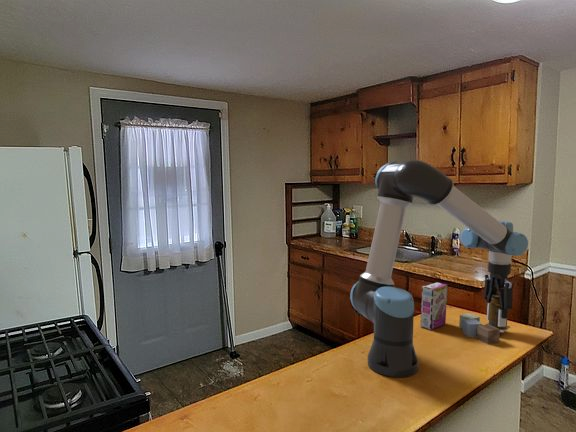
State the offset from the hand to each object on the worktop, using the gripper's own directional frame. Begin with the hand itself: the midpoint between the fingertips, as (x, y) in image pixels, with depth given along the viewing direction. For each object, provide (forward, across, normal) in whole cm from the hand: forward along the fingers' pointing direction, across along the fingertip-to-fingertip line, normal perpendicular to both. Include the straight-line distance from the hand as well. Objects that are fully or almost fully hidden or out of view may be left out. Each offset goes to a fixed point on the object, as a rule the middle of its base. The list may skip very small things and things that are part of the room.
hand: (496, 322), depth 146 cm
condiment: (+2, 0, 0) cm, 2 cm away
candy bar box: (+4, +9, +20) cm, 22 cm away
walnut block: (+4, -7, +8) cm, 11 cm away
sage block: (+4, +5, +8) cm, 10 cm away
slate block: (+4, -1, +10) cm, 11 cm away
